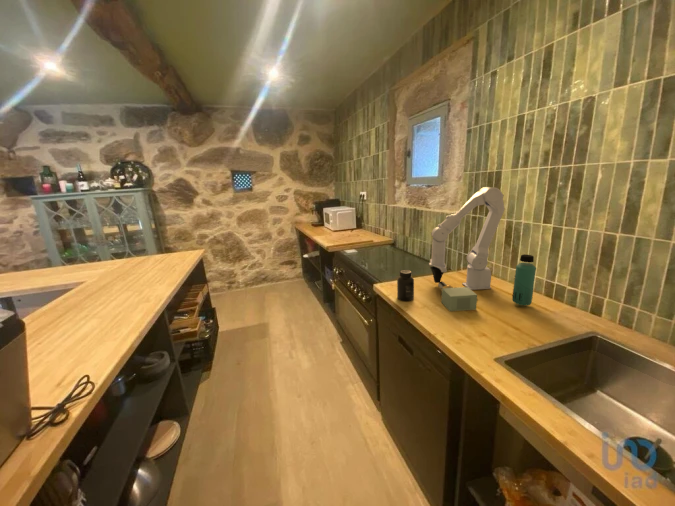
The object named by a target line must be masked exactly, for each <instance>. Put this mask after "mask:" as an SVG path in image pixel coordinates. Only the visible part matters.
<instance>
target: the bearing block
mask: <svg viewBox="0 0 675 506" xmlns="http://www.w3.org/2000/svg"><path fill="white" fill-rule="evenodd" d="M477 301H478V294H477V293H476V292H474V290H470V289H469V288H468V287H466V286H463V287H462V286H461V287H459V286H458V287H453V288H442V289H441V301H440V302H441V304H442V305H443V306H444V307H446V309H447V310H448V311H449V312H457V311H459V312H460V311H474V310H477V303H478V302H477Z"/></svg>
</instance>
